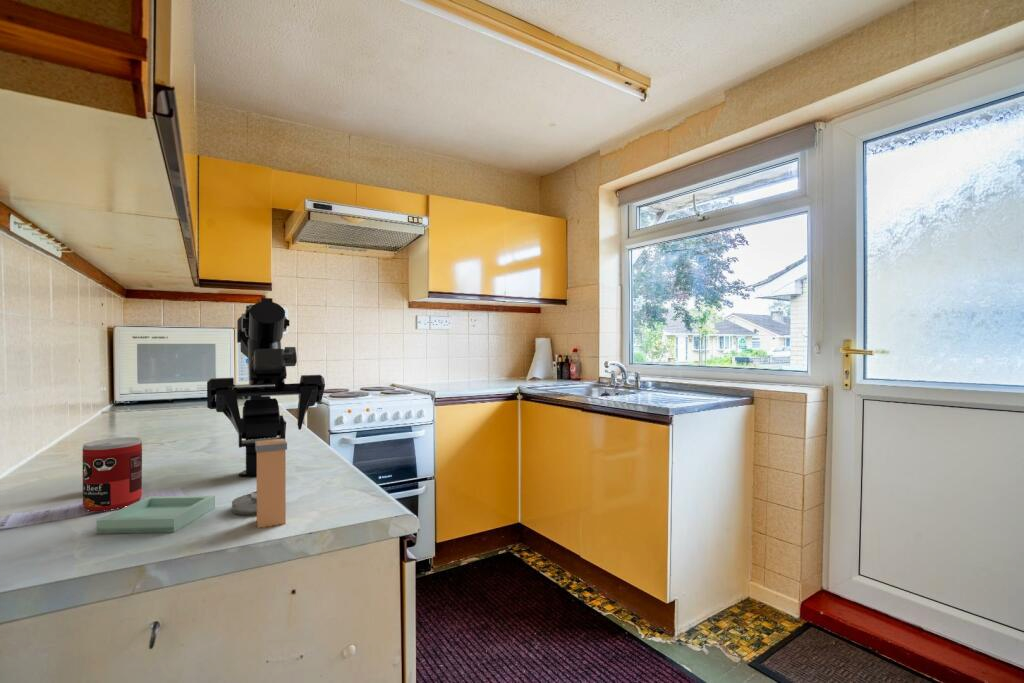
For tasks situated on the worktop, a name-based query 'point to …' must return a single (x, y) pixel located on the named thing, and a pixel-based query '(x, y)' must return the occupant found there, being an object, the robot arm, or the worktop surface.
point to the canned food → (112, 473)
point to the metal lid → (245, 505)
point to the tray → (156, 515)
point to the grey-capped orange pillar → (271, 482)
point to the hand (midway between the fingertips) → (271, 430)
